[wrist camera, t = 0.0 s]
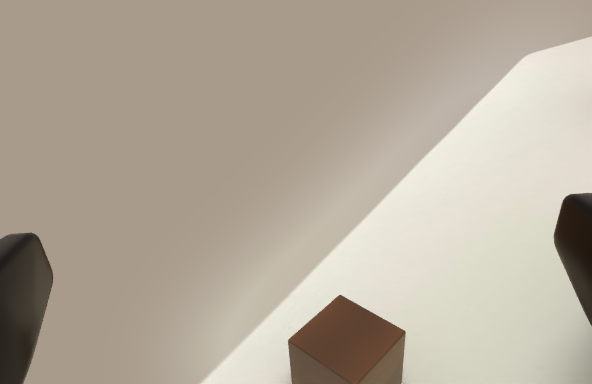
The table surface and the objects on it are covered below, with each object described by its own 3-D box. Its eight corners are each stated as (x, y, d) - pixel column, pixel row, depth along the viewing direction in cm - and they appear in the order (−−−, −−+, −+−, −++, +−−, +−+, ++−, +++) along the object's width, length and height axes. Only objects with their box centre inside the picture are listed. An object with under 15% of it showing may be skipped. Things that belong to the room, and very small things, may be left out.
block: (401, 385, 26) (406, 330, 24) (355, 441, 24) (355, 386, 21) (340, 346, 28) (339, 293, 26) (292, 393, 26) (287, 339, 24)
